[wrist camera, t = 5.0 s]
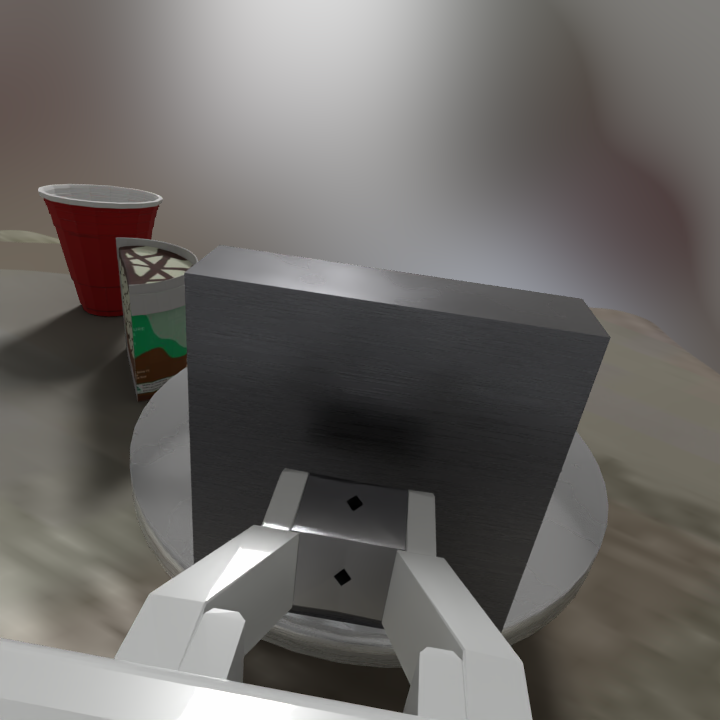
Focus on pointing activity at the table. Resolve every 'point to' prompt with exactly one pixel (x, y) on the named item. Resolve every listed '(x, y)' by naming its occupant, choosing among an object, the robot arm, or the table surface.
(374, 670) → the table surface
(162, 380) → the food container
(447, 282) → the lid
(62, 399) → the table surface
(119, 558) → the table surface
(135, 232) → the plastic cup
